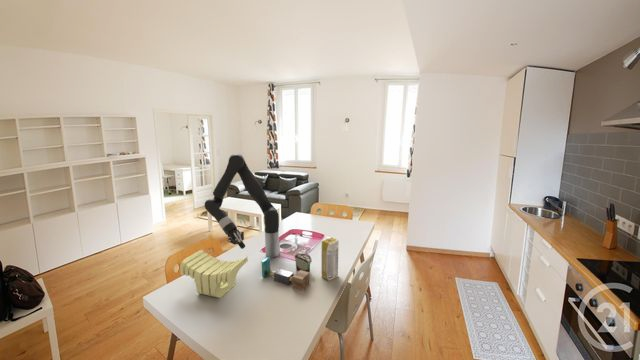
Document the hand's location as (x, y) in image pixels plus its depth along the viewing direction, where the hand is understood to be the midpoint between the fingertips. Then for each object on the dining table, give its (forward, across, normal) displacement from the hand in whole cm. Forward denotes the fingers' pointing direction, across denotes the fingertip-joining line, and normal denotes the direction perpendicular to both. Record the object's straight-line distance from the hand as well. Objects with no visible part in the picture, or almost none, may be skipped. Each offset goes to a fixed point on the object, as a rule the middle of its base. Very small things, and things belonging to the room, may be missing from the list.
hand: (243, 247), depth 165 cm
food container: (+34, +15, -14) cm, 40 cm away
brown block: (+39, 0, -18) cm, 43 cm away
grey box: (+28, 0, -8) cm, 29 cm away
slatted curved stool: (+11, -23, +10) cm, 28 cm away
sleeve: (+30, 0, -10) cm, 32 cm away
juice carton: (+46, +16, -25) cm, 55 cm away
